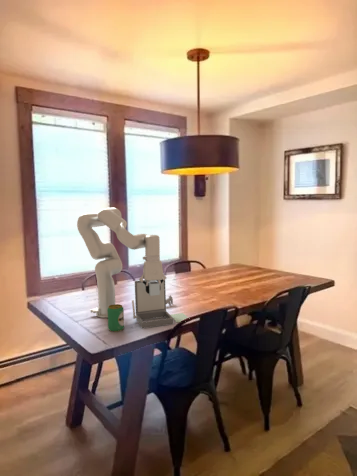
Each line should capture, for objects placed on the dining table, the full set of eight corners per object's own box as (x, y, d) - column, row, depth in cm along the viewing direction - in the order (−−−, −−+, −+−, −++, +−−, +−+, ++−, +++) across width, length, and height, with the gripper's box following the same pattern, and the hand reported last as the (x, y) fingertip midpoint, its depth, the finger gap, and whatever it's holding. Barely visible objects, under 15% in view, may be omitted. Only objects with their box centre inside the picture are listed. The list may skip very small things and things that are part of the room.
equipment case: (138, 328, 183) (136, 287, 180) (132, 319, 197) (130, 281, 195) (173, 323, 189) (172, 283, 186) (165, 315, 203) (164, 278, 201)
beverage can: (119, 332, 178) (118, 309, 177) (105, 331, 181) (104, 307, 180) (127, 327, 185) (126, 304, 184) (113, 325, 188) (112, 303, 187)
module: (150, 295, 187) (150, 284, 186) (146, 292, 194) (146, 280, 193) (159, 294, 188) (159, 283, 187) (155, 291, 196) (155, 280, 195)
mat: (176, 322, 191) (176, 321, 191) (169, 315, 203) (169, 314, 203) (190, 320, 193) (190, 319, 193) (182, 313, 205) (182, 313, 205)
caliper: (171, 304, 225) (171, 294, 225) (172, 304, 224) (172, 294, 224) (148, 312, 210) (147, 302, 209) (149, 313, 209) (148, 302, 209)
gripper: (138, 260, 183) (138, 295, 185) (170, 258, 188) (170, 292, 190) (135, 258, 190) (135, 292, 192) (166, 256, 195) (166, 289, 197)
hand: (153, 292), depth 191 cm, fingers closed on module, 5 cm apart
